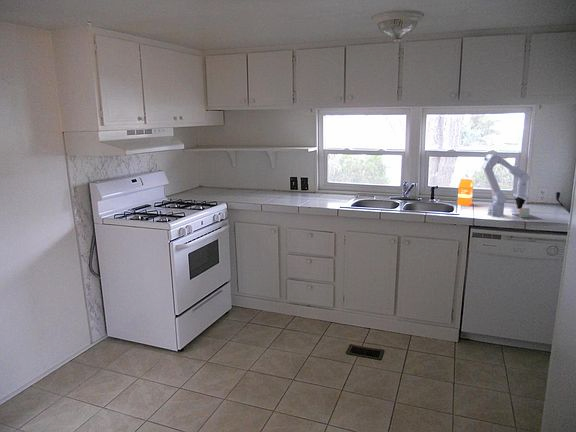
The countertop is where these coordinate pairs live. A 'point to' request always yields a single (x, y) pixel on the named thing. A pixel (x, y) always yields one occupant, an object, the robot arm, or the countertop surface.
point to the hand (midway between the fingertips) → (519, 208)
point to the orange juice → (465, 192)
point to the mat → (527, 217)
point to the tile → (524, 212)
